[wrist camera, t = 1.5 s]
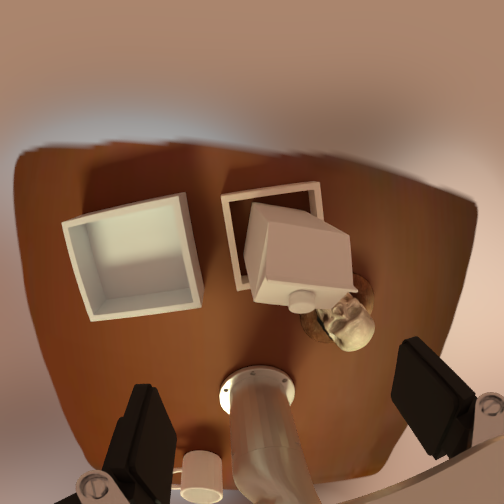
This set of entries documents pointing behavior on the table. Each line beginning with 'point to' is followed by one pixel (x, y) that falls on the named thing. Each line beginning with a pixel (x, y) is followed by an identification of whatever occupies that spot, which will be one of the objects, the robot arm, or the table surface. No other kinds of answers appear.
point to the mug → (201, 477)
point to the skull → (344, 319)
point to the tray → (311, 186)
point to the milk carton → (296, 259)
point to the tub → (136, 258)
